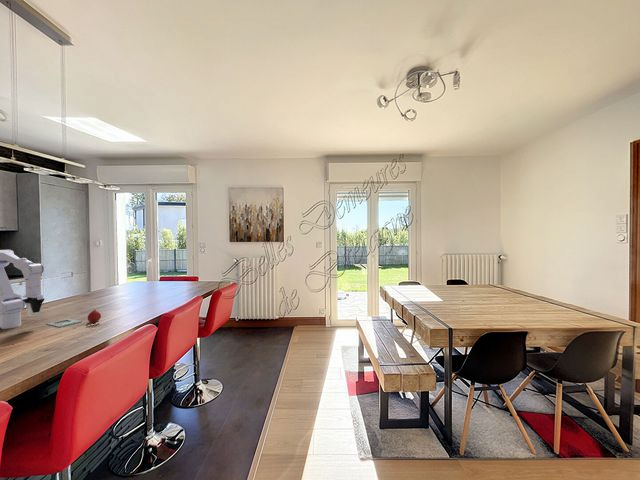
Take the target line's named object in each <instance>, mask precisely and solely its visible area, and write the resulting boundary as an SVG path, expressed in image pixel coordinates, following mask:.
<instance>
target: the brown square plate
mask: <svg viewBox="0 0 640 480" xmlns="http://www.w3.org/2000/svg"><path fill="white" fill-rule="evenodd" d="M50 327H51V326H50V325H46V324H38V325H33V326H29V327H25V328H20V329H19V331H21V332H25V333H30V332H32V331H37V330H41V329H46V328H50Z"/></svg>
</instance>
